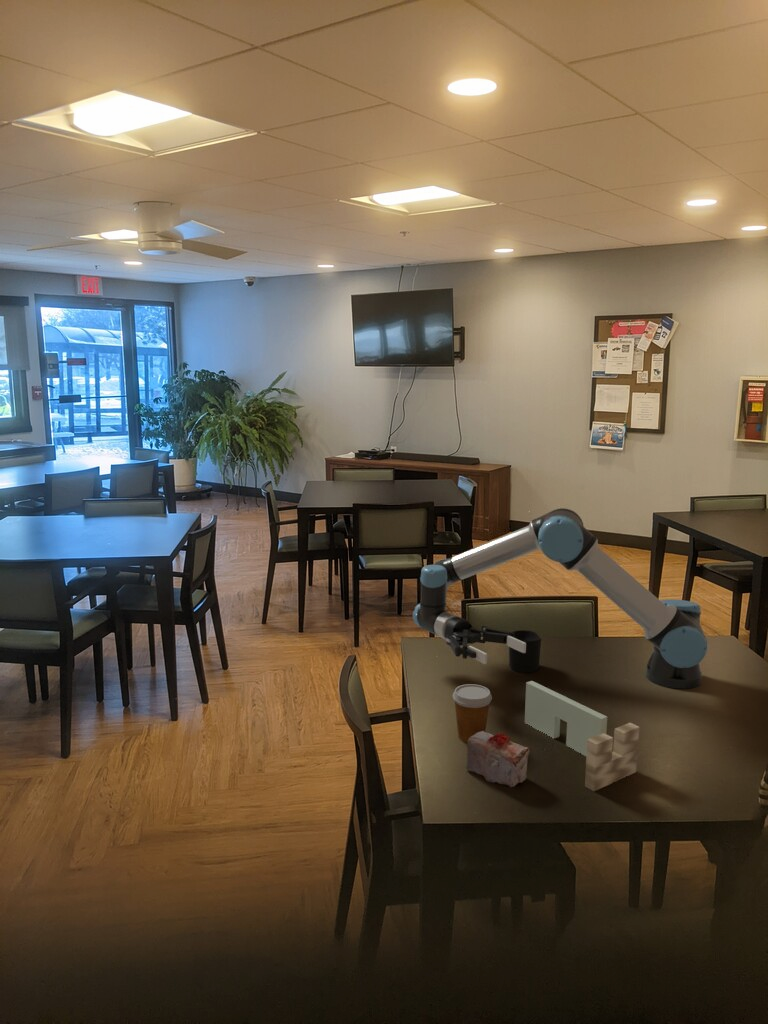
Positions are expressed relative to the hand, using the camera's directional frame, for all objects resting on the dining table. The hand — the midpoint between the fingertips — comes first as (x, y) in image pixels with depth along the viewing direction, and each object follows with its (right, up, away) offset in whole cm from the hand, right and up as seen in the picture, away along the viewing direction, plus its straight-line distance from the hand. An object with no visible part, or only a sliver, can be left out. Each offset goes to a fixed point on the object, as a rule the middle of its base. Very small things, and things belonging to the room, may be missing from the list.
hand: (505, 653), depth 201 cm
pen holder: (+10, -10, +31) cm, 34 cm away
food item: (-6, -22, -28) cm, 37 cm away
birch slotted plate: (+19, -22, -30) cm, 42 cm away
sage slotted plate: (+12, -19, -13) cm, 26 cm away
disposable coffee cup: (-10, -19, -11) cm, 24 cm away
